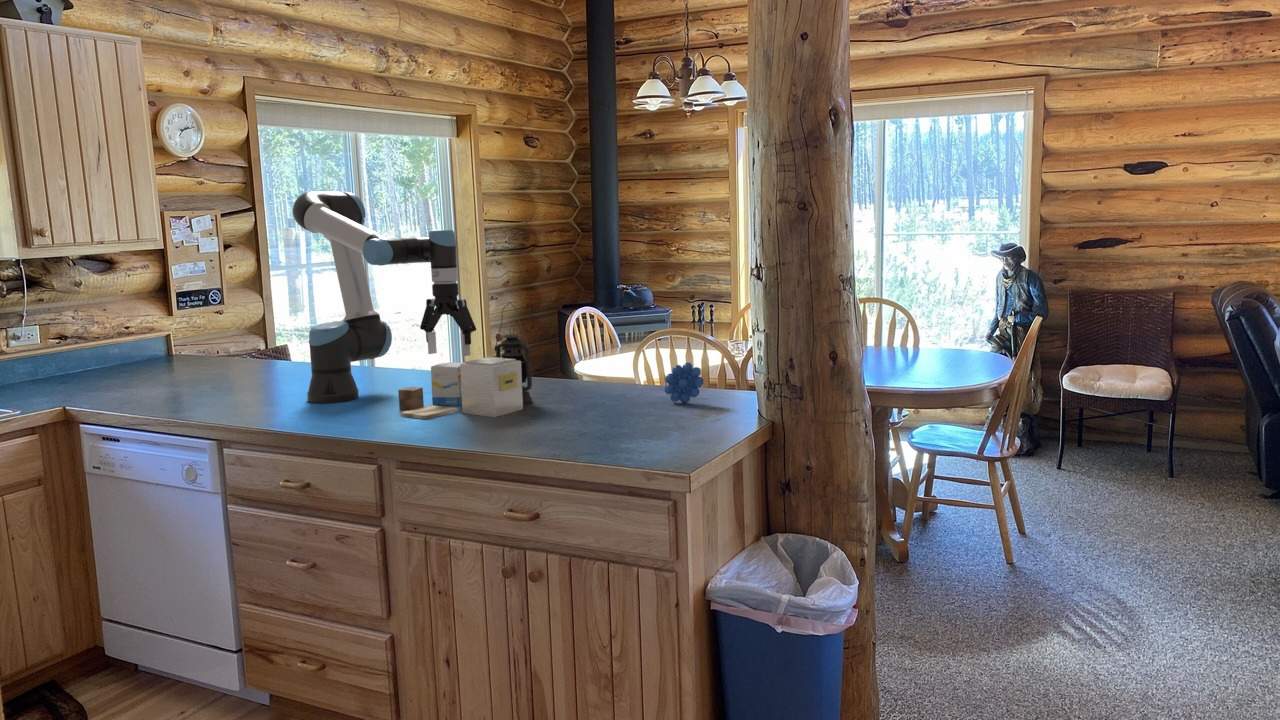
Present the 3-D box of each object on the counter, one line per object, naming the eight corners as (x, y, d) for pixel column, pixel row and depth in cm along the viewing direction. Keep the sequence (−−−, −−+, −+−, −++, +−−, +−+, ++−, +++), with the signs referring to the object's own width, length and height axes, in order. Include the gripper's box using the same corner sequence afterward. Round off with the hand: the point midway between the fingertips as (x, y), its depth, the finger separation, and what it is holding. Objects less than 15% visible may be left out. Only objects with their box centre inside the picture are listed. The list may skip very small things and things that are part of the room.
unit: (462, 413, 268) (460, 361, 266) (491, 405, 278) (488, 356, 276) (496, 417, 262) (493, 364, 260) (524, 409, 272) (522, 358, 270)
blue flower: (707, 401, 278) (706, 360, 277) (702, 405, 272) (701, 364, 270) (668, 399, 282) (667, 359, 280) (662, 404, 275) (661, 363, 274)
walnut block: (399, 410, 275) (398, 389, 274) (408, 407, 280) (407, 386, 279) (414, 411, 273) (413, 390, 273) (423, 407, 278) (422, 387, 277)
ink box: (458, 406, 279) (456, 366, 278) (431, 405, 281) (429, 366, 279) (469, 400, 288) (468, 362, 286) (443, 400, 289) (441, 361, 288)
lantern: (541, 400, 285) (538, 300, 280) (523, 407, 275) (518, 303, 271) (506, 398, 290) (502, 299, 286) (486, 404, 280) (482, 302, 276)
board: (400, 416, 266) (400, 412, 266) (431, 408, 276) (431, 405, 276) (426, 419, 261) (426, 415, 261) (457, 411, 271) (457, 408, 271)
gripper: (405, 283, 283) (409, 354, 286) (467, 283, 269) (471, 358, 272) (423, 281, 289) (428, 351, 292) (485, 282, 275) (489, 355, 278)
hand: (449, 354), depth 282 cm, fingers open, 13 cm apart
